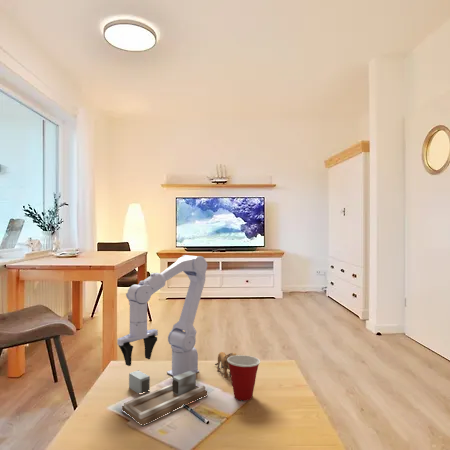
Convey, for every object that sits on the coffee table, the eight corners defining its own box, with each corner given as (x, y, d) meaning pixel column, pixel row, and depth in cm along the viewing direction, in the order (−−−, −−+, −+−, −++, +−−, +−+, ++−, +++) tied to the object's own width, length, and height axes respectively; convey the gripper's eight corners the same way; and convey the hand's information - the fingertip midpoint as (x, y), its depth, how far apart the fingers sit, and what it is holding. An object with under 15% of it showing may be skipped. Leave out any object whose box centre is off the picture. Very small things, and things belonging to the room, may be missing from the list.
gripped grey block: (138, 384, 117) (138, 370, 117) (150, 391, 112) (150, 376, 112) (129, 388, 114) (129, 373, 114) (140, 395, 109) (141, 379, 109)
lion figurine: (242, 378, 122) (242, 353, 122) (230, 381, 119) (230, 356, 119) (220, 364, 134) (220, 342, 134) (208, 367, 131) (209, 344, 131)
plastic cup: (264, 392, 111) (265, 355, 111) (253, 407, 101) (253, 367, 102) (234, 386, 116) (234, 350, 116) (221, 400, 106) (221, 361, 106)
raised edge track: (185, 384, 116) (185, 365, 117) (207, 395, 109) (207, 375, 109) (122, 411, 99) (122, 389, 99) (142, 426, 92) (142, 402, 92)
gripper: (149, 314, 121) (149, 352, 121) (112, 323, 110) (112, 364, 110) (161, 318, 116) (161, 357, 116) (124, 327, 106) (124, 370, 105)
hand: (138, 361), depth 113 cm, fingers open, 7 cm apart
